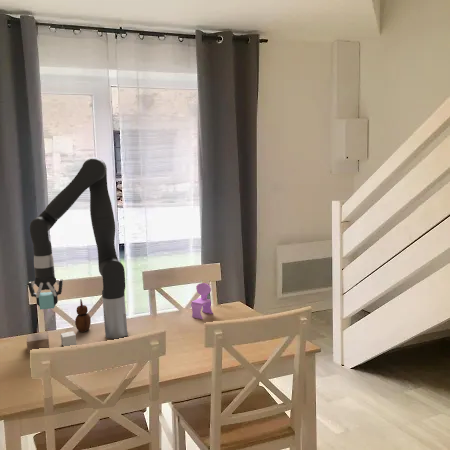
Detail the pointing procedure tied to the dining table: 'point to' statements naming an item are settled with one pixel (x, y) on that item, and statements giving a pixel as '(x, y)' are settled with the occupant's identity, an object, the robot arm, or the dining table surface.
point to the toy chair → (201, 301)
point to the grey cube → (68, 338)
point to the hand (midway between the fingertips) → (47, 305)
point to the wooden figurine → (82, 318)
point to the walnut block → (37, 341)
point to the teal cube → (46, 300)
